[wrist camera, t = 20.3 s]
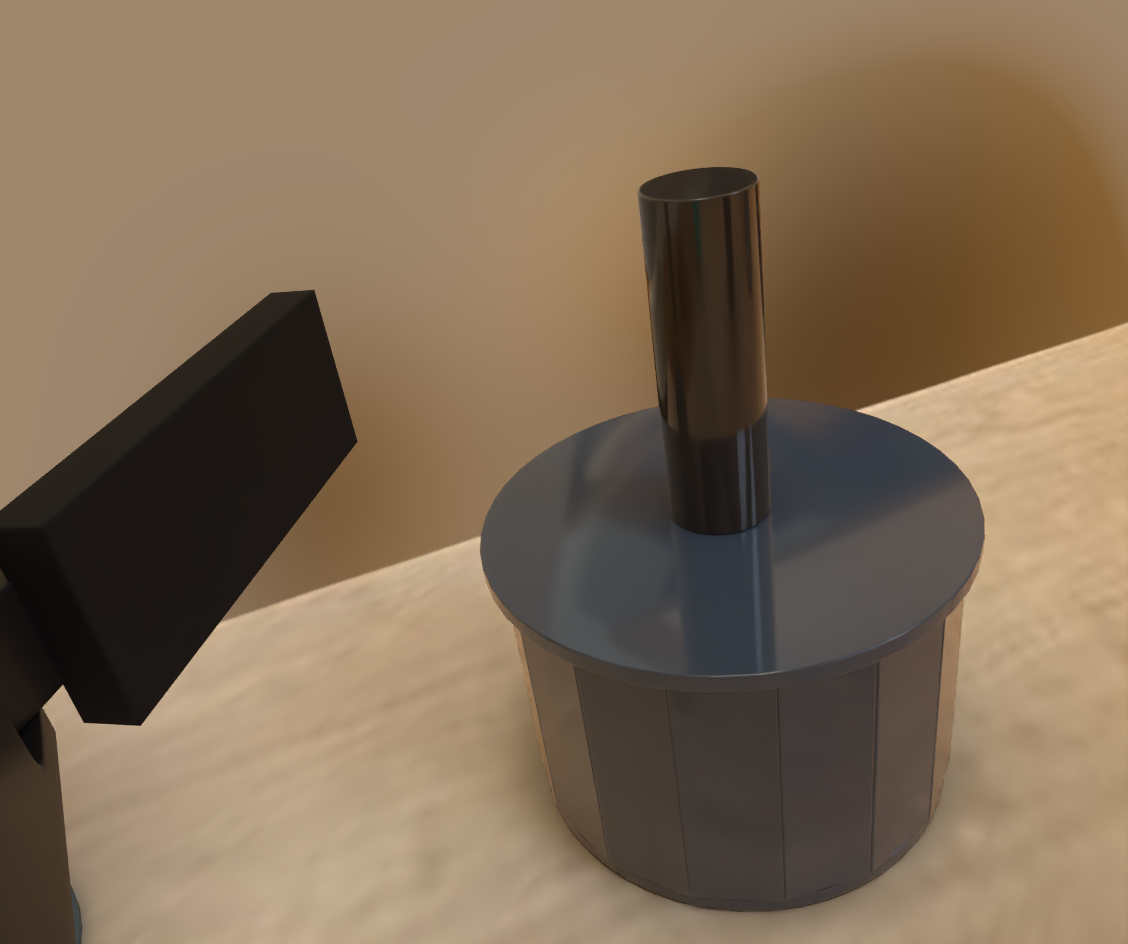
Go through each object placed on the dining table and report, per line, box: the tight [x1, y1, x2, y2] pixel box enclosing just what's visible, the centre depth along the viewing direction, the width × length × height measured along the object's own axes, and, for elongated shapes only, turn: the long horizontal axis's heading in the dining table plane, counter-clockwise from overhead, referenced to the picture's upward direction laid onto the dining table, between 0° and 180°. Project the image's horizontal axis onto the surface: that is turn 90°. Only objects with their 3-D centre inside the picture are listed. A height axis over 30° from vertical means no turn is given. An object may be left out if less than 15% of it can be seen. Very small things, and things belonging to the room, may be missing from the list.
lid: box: [480, 167, 985, 693], centre depth 25 cm, size 14×14×10 cm
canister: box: [513, 598, 964, 911], centre depth 29 cm, size 13×13×8 cm
